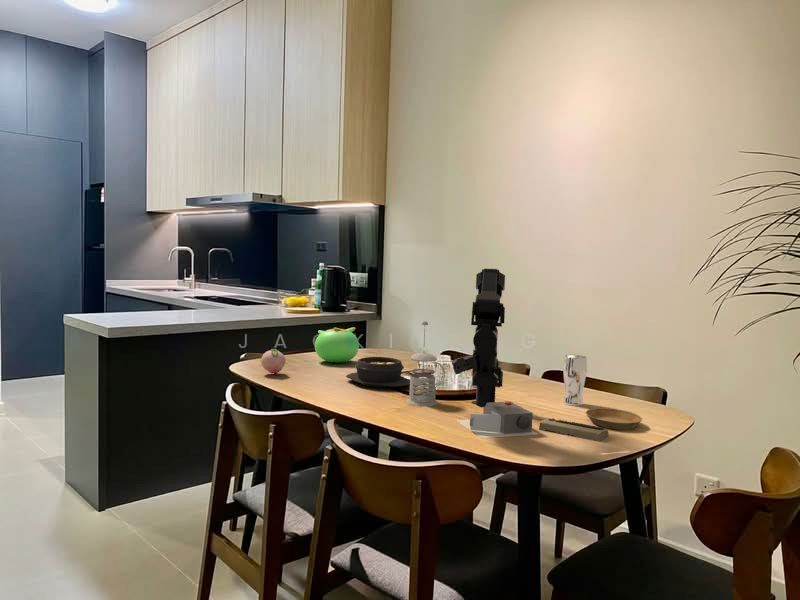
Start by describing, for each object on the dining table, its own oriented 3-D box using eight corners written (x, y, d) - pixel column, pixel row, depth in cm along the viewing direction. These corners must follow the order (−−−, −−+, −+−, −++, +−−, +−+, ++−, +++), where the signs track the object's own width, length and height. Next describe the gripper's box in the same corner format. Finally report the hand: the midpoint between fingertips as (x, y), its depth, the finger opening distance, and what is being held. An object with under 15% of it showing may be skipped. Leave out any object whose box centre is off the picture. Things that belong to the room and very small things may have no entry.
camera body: (482, 420, 161) (483, 400, 160) (509, 419, 163) (510, 399, 163) (505, 435, 148) (506, 413, 148) (534, 433, 151) (535, 411, 150)
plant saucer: (650, 425, 164) (651, 416, 164) (626, 435, 154) (626, 425, 154) (601, 414, 175) (601, 405, 175) (575, 422, 165) (575, 413, 165)
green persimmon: (313, 365, 235) (314, 328, 233) (315, 358, 251) (316, 323, 250) (358, 366, 236) (359, 329, 235) (358, 359, 253) (359, 324, 252)
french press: (402, 398, 185) (405, 319, 183) (438, 398, 187) (441, 319, 185) (409, 406, 175) (412, 322, 173) (447, 405, 178) (450, 323, 176)
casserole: (333, 382, 205) (334, 358, 204) (368, 375, 220) (369, 352, 219) (390, 394, 190) (391, 368, 189) (423, 385, 205) (424, 361, 204)
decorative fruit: (258, 372, 217) (259, 345, 216) (280, 371, 220) (281, 345, 219) (264, 377, 208) (264, 349, 208) (287, 376, 212) (287, 349, 211)
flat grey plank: (608, 437, 153) (608, 424, 152) (600, 445, 146) (600, 431, 146) (548, 426, 161) (549, 414, 161) (538, 433, 154) (539, 420, 154)
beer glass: (578, 407, 181) (581, 359, 180) (557, 403, 186) (560, 355, 185) (588, 404, 186) (591, 356, 185) (568, 399, 191) (570, 353, 190)
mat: (456, 421, 161) (456, 420, 161) (508, 418, 166) (508, 417, 166) (481, 439, 146) (481, 437, 145) (539, 435, 150) (539, 434, 150)
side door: (469, 430, 150) (470, 414, 150) (470, 429, 151) (470, 412, 151) (502, 433, 148) (503, 417, 148) (503, 432, 150) (503, 415, 149)
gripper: (455, 340, 163) (453, 396, 164) (453, 350, 144) (450, 413, 145) (496, 342, 161) (494, 398, 162) (499, 353, 143) (496, 416, 144)
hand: (483, 406), depth 154 cm, fingers closed
